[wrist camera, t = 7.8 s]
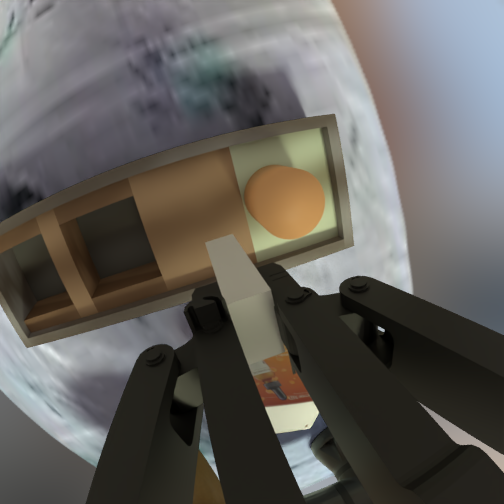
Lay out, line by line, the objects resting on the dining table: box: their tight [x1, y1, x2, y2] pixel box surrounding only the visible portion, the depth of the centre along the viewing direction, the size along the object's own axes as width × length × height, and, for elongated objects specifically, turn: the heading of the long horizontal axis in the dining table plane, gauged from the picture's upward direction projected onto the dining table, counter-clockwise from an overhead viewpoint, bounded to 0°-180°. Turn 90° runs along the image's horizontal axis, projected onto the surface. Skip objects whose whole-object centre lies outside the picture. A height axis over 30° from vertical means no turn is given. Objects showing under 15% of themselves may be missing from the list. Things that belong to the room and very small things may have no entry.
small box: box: [249, 343, 319, 434], centre depth 30 cm, size 8×6×10 cm
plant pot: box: [193, 449, 226, 504], centre depth 31 cm, size 15×15×16 cm
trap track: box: [0, 114, 354, 348], centre depth 23 cm, size 12×34×6 cm, turn 104°
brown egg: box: [244, 165, 325, 239], centre depth 21 cm, size 5×5×4 cm
